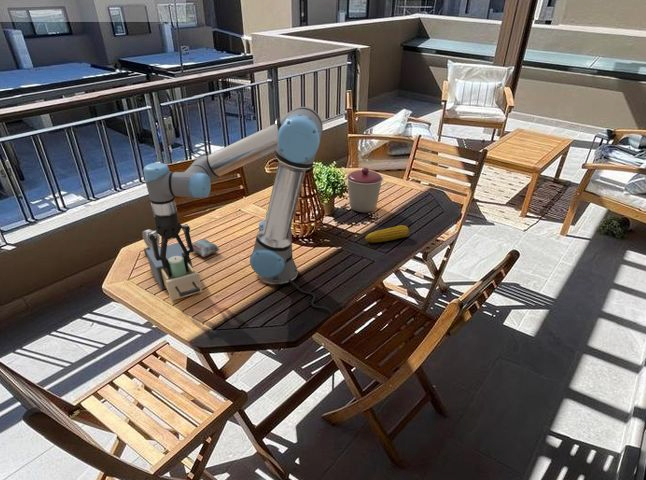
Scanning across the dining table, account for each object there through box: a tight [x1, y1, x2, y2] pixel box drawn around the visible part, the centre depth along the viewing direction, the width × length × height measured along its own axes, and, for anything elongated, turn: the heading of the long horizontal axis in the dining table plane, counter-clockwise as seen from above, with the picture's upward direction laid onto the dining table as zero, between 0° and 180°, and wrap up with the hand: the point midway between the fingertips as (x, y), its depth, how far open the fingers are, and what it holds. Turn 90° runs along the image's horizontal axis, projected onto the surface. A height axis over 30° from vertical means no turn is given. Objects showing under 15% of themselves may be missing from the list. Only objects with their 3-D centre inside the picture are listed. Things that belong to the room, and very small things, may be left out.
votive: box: [168, 256, 186, 277], centre depth 159 cm, size 6×6×6 cm
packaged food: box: [186, 238, 221, 258], centre depth 187 cm, size 9×12×5 cm
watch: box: [142, 228, 161, 257], centre depth 183 cm, size 6×8×11 cm
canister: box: [346, 167, 384, 213], centre depth 223 cm, size 18×18×21 cm
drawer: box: [159, 263, 203, 301], centre depth 161 cm, size 20×11×8 cm, turn 33°
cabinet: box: [146, 242, 194, 290], centre depth 170 cm, size 15×13×10 cm
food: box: [364, 224, 410, 244], centre depth 200 cm, size 21×6×6 cm, turn 115°
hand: (178, 272), depth 161 cm, fingers closed on votive, 6 cm apart
